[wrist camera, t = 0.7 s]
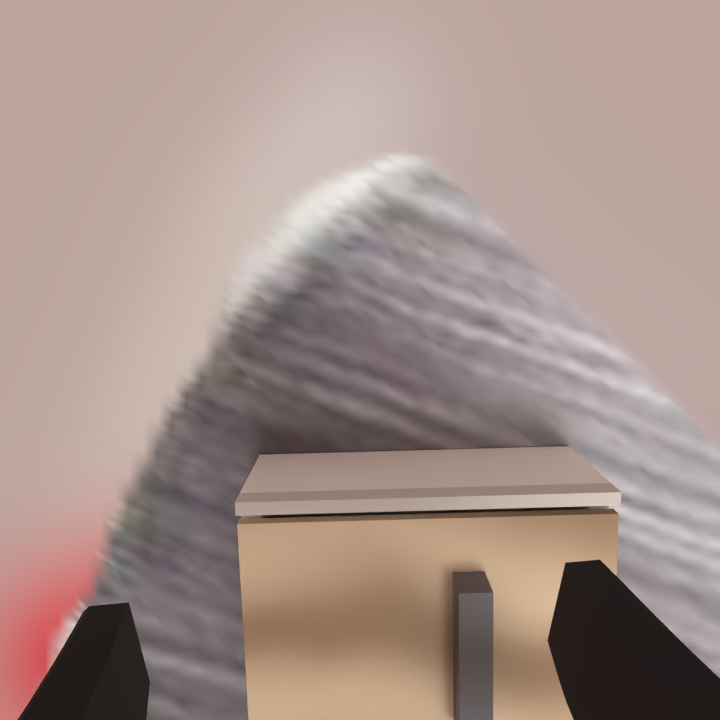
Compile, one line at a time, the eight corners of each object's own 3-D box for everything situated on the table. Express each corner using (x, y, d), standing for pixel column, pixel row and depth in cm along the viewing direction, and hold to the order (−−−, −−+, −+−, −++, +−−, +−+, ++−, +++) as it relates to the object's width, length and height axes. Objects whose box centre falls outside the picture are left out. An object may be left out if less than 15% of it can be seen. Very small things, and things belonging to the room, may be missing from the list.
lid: (605, 753, 26) (627, 796, 24) (253, 762, 26) (244, 806, 24) (613, 508, 24) (636, 531, 22) (239, 518, 25) (228, 542, 22)
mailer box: (564, 688, 31) (611, 788, 25) (272, 696, 31) (252, 797, 25) (568, 446, 30) (621, 492, 24) (259, 454, 30) (234, 502, 24)
